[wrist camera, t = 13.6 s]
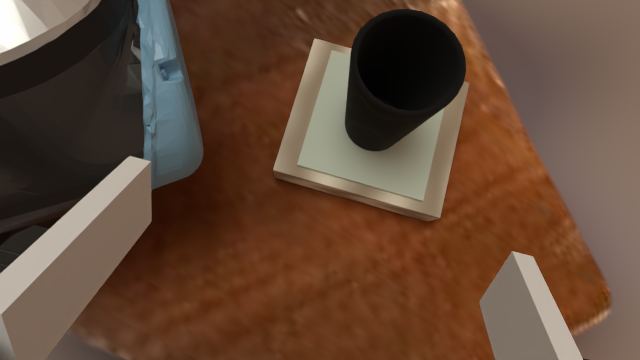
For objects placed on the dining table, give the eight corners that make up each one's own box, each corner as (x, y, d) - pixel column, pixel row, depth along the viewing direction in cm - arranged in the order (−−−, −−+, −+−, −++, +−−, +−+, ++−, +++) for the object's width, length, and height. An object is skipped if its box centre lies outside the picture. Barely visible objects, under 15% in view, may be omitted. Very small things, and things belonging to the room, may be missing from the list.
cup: (357, 71, 39) (384, -12, 27) (427, 109, 38) (485, 42, 27) (318, 137, 37) (329, 79, 26) (391, 177, 37) (435, 137, 25)
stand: (274, 177, 40) (272, 168, 36) (313, 55, 43) (315, 35, 39) (427, 221, 40) (441, 217, 36) (455, 97, 43) (471, 80, 39)
